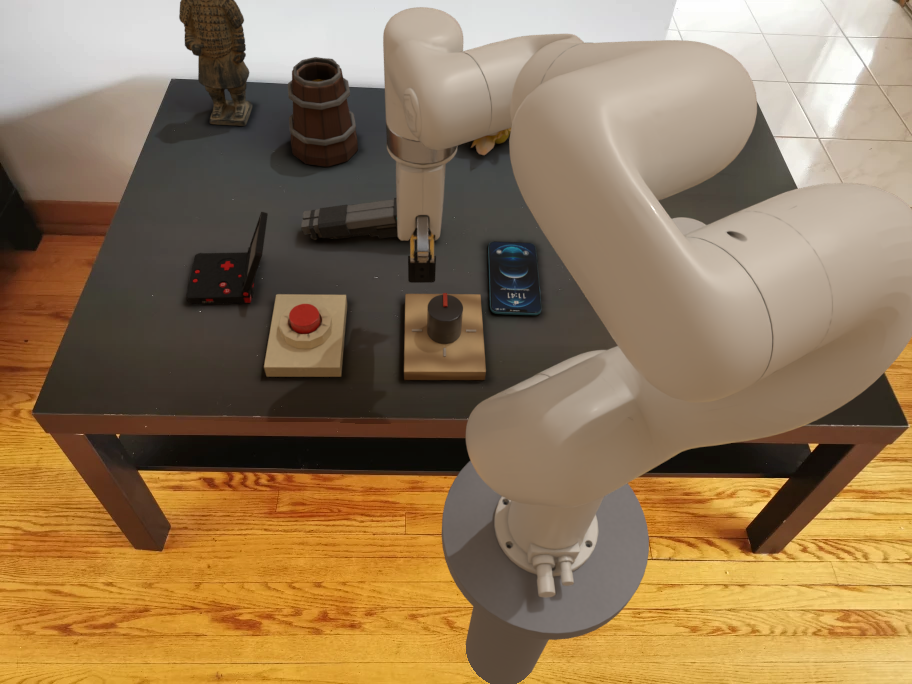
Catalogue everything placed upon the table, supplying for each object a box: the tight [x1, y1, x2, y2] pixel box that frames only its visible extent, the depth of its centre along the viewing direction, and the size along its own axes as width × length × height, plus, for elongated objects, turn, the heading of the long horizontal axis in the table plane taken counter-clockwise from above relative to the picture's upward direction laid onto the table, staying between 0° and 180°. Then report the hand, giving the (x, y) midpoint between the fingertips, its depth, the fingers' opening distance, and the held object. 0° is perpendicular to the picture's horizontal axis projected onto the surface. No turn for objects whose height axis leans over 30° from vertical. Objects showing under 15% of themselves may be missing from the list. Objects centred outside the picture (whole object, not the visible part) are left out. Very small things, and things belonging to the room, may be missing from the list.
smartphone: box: [487, 240, 542, 316], centre depth 108 cm, size 8×1×15 cm
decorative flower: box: [470, 128, 511, 156], centre depth 127 cm, size 15×11×10 cm
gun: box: [300, 197, 435, 241], centre depth 111 cm, size 4×20×10 cm, turn 91°
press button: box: [289, 304, 320, 334], centre depth 96 cm, size 4×4×2 cm
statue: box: [178, 0, 253, 127], centre depth 119 cm, size 10×8×30 cm
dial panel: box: [403, 293, 487, 381], centre depth 99 cm, size 14×11×2 cm
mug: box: [287, 56, 359, 168], centre depth 122 cm, size 16×12×15 cm
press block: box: [263, 293, 348, 378], centre depth 98 cm, size 13×10×4 cm
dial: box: [427, 292, 463, 344], centre depth 97 cm, size 5×5×5 cm
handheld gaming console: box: [185, 211, 269, 305], centre depth 101 cm, size 9×12×10 cm
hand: (420, 252), depth 87 cm, fingers open, 9 cm apart
